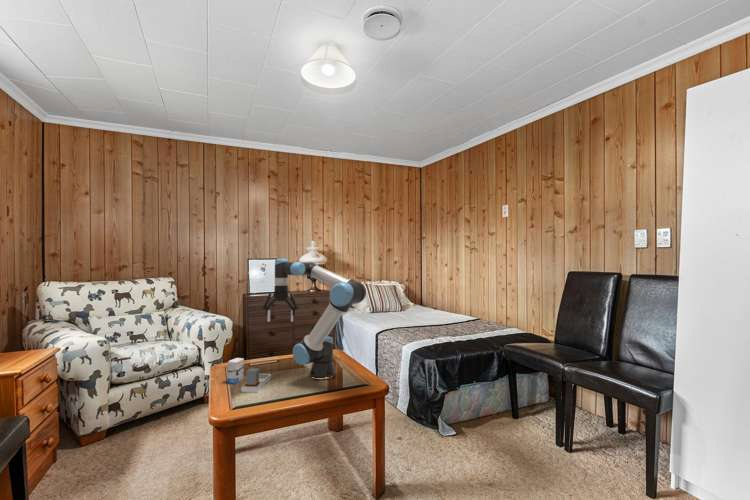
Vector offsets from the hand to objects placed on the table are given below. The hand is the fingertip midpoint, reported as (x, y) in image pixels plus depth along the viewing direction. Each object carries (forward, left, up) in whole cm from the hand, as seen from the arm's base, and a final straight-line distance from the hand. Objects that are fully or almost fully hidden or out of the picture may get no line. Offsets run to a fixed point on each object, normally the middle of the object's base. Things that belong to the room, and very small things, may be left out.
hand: (280, 321), depth 211 cm
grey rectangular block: (+7, +23, -31) cm, 40 cm away
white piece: (+7, +17, -31) cm, 36 cm away
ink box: (+21, +12, -32) cm, 40 cm away
